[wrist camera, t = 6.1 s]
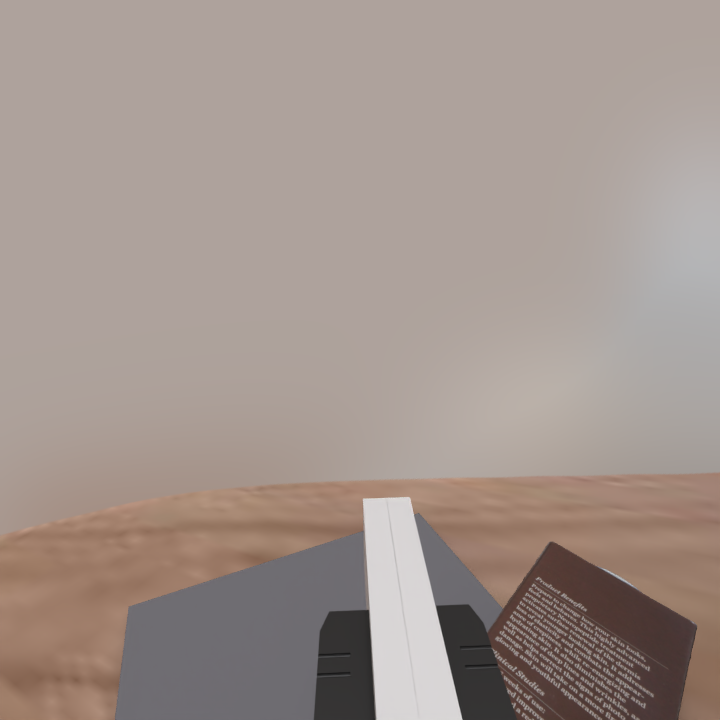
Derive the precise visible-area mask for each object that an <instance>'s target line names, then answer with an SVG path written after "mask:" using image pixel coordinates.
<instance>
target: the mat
mask: <svg viewBox="0 0 720 720" xmlns="http://www.w3.org/2000/svg"><path fill="white" fill-rule="evenodd" d="M414 518H415V522H416V526H417V530H418V534H419V539H420V543H421V547H422V551H423V556H424V560H425V564H426V568H427V572H428V577H429V581H430V585H431V589H432V594H433V598H434V602H435V606H438V605H462V604H469V605H470V606H471V608H472V609H473V610H474V611H475V613H476V614H477V615H478V616H479V618H480V619H481V620H482V621H483V623H484V625H485V628H486V631H487V632H488V631H489V629H490V627H491V626H492V625H493V623H494V622H495V620H496V619H497V617H498V616H499V614H500V613H501V611H502V610H503V609H502V607H501V606H500V605H499V604H498V603H497V602H496V601H495V599H494V598H493V597H492V596H491V595H490V594H489V593H488V591H487V590H486V589H485V588H484V587H483V586H482V585H481V583H480V582H479V581H478V580H477V579H476V578H475V577H474V575H473V574H472V573H471V572H470V571H469V570H468V569H467V567H466V566H465V565H464V564H463V563H462V562H461V561H460V559H459V558H458V557H457V556H456V555H455V554H454V553H453V551H452V550H451V549H450V548H449V547H448V546H447V545H446V543H445V542H444V541H443V540H442V539H441V538H440V537H439V535H438V534H437V533H436V532H435V531H434V530H433V529H432V527H431V526H430V525H429V524H428V523H427V522H426V521H425V520H424V518H423V517H422V516H421V515H420V514H419V513H418V514H415V515H414ZM350 610H367V608H366V590H365V571H364V531H362V532H359V533H356V534H353V535H350V536H346V537H343V538H340V539H337V540H334V541H331V542H328V543H325V544H322V545H319V546H315V547H312V548H309V549H306V550H303V551H300V552H297V553H294V554H291V555H288V556H284V557H281V558H278V559H275V560H272V561H269V562H266V563H263V564H260V565H257V566H253V567H250V568H247V569H244V570H241V571H238V572H235V573H232V574H229V575H226V576H222V577H219V578H216V579H213V580H210V581H207V582H204V583H201V584H198V585H195V586H192V587H188V588H185V589H182V590H179V591H176V592H173V593H170V594H167V595H164V596H161V597H157V598H154V599H151V600H148V601H145V602H142V603H139V604H136V605H133V606H130V607H129V609H128V617H127V625H126V634H125V642H124V650H123V658H122V666H121V674H120V682H119V691H118V699H117V707H116V715H115V720H314V709H315V694H316V679H317V664H318V649H319V634H320V629H321V627H322V625H323V623H324V621H325V619H326V617H327V615H328V613H329V611H350Z"/></svg>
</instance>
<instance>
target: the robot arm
mask: <svg viewBox="0 0 720 720" xmlns="http://www.w3.org/2000/svg"><path fill="white" fill-rule="evenodd" d="M363 525H364V571H365V590H366V608H367V610H350V611H329V613H328V615H327V617H326V619H325V621H324V623H323V625H322V627H321V629H320V634H319V649H318V664H317V679H316V694H315V709H314V720H517V717H516V714H515V711H514V708H513V706H512V703H511V700H510V697H509V694H508V691H507V688H506V685H505V683H504V680H503V677H502V674H501V671H500V669H499V668H498V663H497V660H496V657H495V654H494V651H493V649H492V647H491V643H490V640H489V637H488V634H487V631H486V628H485V625H484V623H483V621H482V620H481V619H480V618H479V616H478V615H477V614H476V613H475V611H474V610H473V609H472V608H471V606H470V605H469V604H462V605H438V606H435V602H434V598H433V594H432V589H431V585H430V581H429V577H428V572H427V568H426V564H425V560H424V556H423V551H422V547H421V543H420V539H419V534H418V530H417V526H416V522H415V518H414V513H413V509H412V505H411V501H410V497H401V498H373V499H363Z"/></svg>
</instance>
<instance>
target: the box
mask: <svg viewBox="0 0 720 720" xmlns="http://www.w3.org/2000/svg"><path fill="white" fill-rule="evenodd" d="M696 630H697V625H696V624H695V623H694V622H692V621H691V620H689V619H687V618H685V617H683V616H681V615H679V614H678V613H676V612H674V611H673V610H671V609H669V608H667V607H666V606H664V605H662V604H660V603H659V602H657V601H655V600H653V599H651V598H650V597H648V596H646V595H645V594H643V593H642V592H640V591H639V590H638V589H637V588H636V587H634V586H633V585H632V584H630V583H629V582H628V581H626V580H625V579H623V578H621V577H620V576H618V575H616V574H614V573H612V572H610V571H608V570H606V569H603V568H600V567H598V566H595V565H593V564H591V563H589V562H587V561H586V560H584V559H582V558H581V557H579V556H577V555H576V554H574V553H572V552H570V551H569V550H567V549H565V548H563V547H562V546H560V545H558V544H557V543H555V542H549V543H548V544H547V546H546V547H545V549H544V551H543V552H542V553H541V555H540V557H539V558H538V559H537V560H536V562H535V564H534V565H533V567H532V568H531V570H530V571H529V572H528V574H527V575H526V577H525V578H524V579H523V581H522V583H521V584H520V585H519V587H518V588H517V590H516V592H515V593H514V594H513V596H512V597H511V598H510V600H509V601H508V603H507V605H506V606H505V607H504V609H503V610H502V611H501V613H500V614H499V616H498V617H497V619H496V620H495V622H494V623H493V625H492V626H491V627H490V629H489V631H488V632H487V634H488V637H489V640H490V643H491V647H492V649H493V651H494V654H495V657H496V660H497V663H498V668H499V669H500V671H501V674H502V677H503V680H504V683H505V685H506V688H507V691H508V694H509V697H510V700H511V703H512V706H513V708H514V711H515V714H516V717H517V720H678V716H679V711H680V706H681V701H682V696H683V691H684V685H685V680H686V676H687V671H688V666H689V661H690V658H691V652H692V648H693V644H694V640H695V634H696Z"/></svg>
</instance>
